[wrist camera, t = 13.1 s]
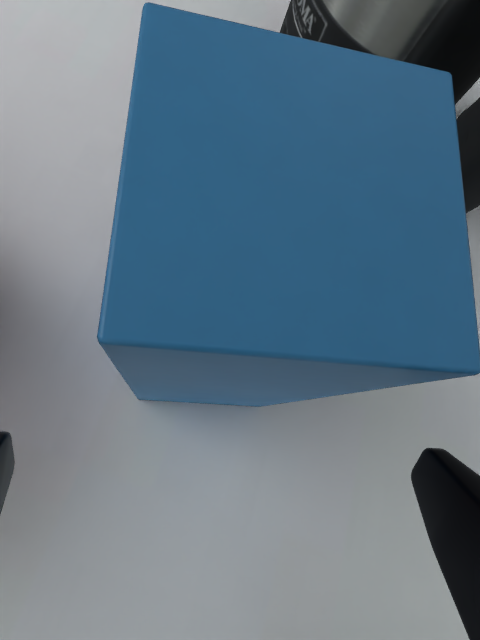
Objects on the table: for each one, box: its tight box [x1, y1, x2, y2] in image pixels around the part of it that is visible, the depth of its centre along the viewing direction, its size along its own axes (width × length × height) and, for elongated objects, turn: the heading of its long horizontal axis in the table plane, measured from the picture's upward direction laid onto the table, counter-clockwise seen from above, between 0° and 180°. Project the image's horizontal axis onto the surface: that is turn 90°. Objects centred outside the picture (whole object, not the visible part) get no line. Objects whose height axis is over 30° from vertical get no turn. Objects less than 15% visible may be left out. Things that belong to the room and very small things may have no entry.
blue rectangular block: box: [97, 2, 480, 407], centre depth 11 cm, size 5×5×12 cm
